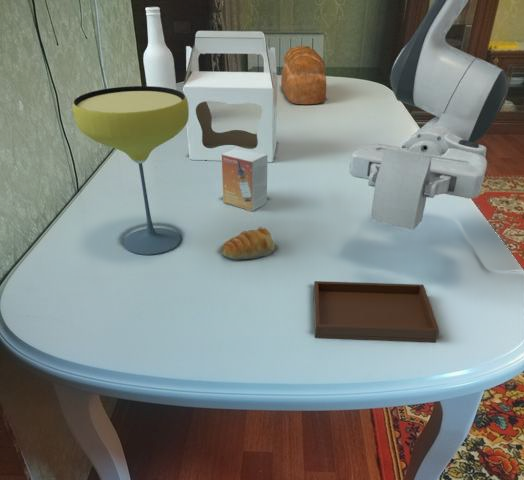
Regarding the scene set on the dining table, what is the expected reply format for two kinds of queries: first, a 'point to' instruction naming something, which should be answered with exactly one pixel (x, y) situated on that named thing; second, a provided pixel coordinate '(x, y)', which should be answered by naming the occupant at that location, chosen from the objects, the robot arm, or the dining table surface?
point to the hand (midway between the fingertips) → (400, 186)
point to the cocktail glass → (135, 139)
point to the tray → (373, 312)
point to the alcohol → (158, 54)
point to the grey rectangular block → (401, 189)
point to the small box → (244, 178)
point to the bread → (303, 76)
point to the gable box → (230, 95)
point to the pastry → (249, 245)
